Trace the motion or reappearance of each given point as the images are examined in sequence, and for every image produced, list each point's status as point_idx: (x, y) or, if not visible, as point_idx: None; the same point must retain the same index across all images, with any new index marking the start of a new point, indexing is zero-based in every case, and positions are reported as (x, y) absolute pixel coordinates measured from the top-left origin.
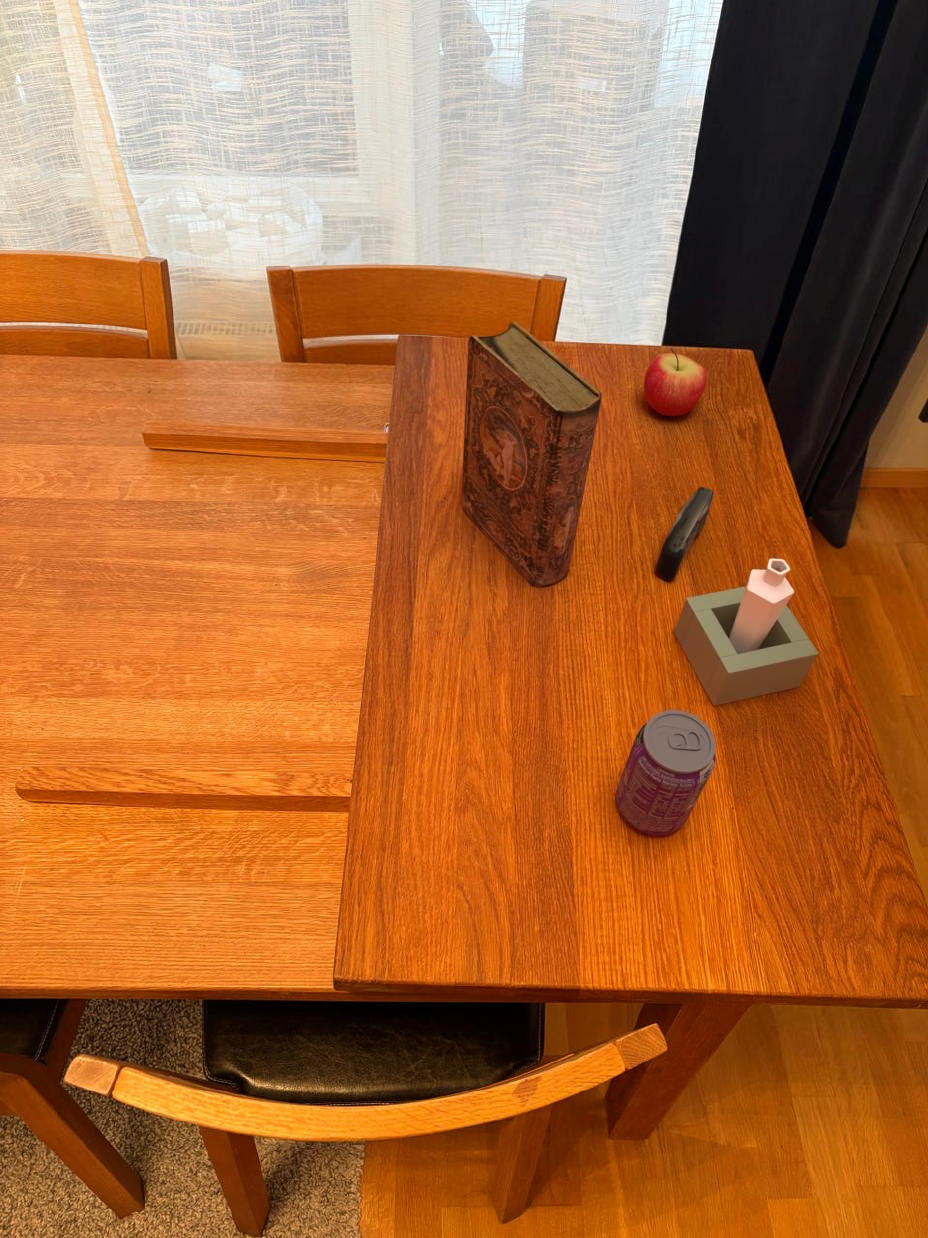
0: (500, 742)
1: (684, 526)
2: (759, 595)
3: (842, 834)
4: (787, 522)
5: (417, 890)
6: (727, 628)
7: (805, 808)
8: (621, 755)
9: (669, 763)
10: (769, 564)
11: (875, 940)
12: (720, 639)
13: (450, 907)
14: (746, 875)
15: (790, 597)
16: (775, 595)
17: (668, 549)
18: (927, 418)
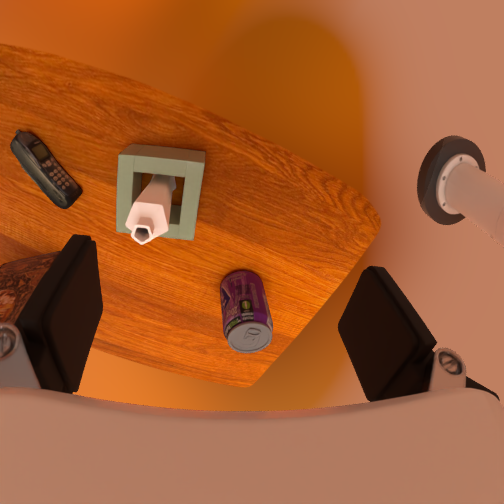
0: (175, 330)
1: (44, 184)
2: (155, 236)
3: (311, 200)
4: (56, 62)
5: (232, 370)
6: (139, 183)
7: (287, 209)
8: (205, 285)
9: (259, 346)
10: (137, 240)
11: (360, 225)
12: None
13: (244, 364)
14: (300, 262)
15: (163, 204)
16: (161, 228)
17: (63, 207)
18: (100, 316)
